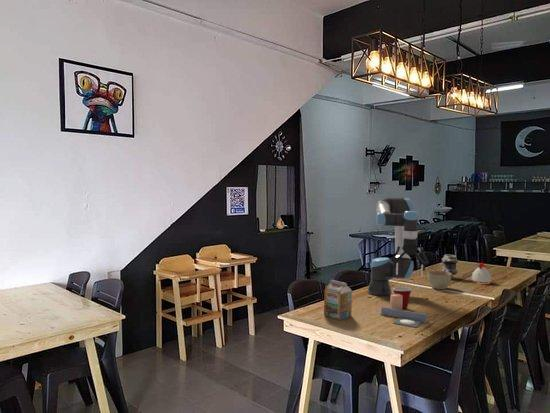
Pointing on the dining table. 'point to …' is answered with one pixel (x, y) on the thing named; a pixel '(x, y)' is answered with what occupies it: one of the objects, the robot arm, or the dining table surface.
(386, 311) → the divider wall
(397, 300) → the beige small cylinder
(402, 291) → the plastic cup
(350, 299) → the milk carton
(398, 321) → the resting mat
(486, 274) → the kitchen timer
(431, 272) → the planter bowl
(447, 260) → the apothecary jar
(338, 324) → the dining table surface
